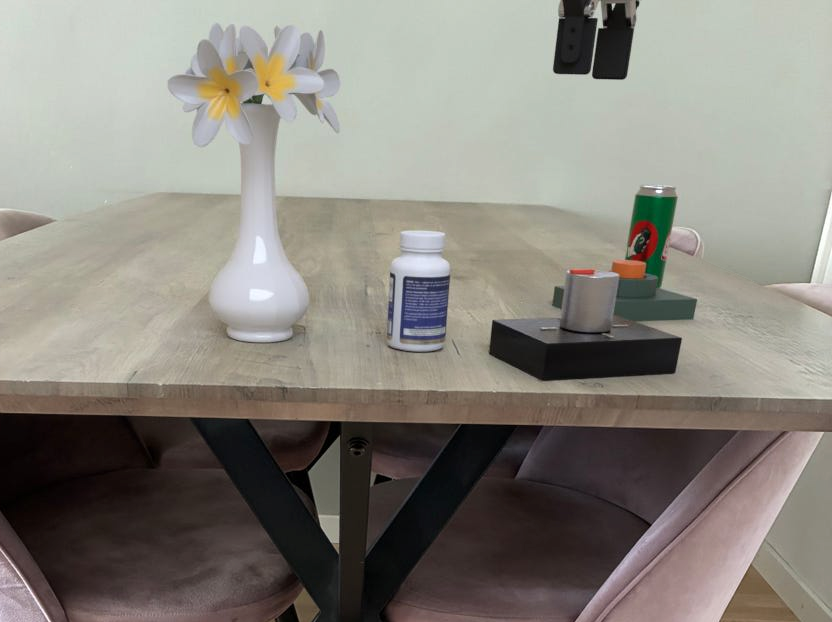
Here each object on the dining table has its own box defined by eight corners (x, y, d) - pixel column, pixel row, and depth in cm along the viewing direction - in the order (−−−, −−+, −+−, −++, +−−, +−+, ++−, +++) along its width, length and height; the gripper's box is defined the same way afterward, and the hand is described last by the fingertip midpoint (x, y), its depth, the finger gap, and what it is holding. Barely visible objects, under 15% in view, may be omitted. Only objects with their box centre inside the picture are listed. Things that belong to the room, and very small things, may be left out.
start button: (631, 276, 107) (634, 259, 106) (650, 281, 104) (653, 264, 103) (603, 276, 106) (606, 259, 105) (621, 281, 103) (624, 264, 102)
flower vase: (167, 355, 81) (146, 6, 69) (217, 315, 97) (207, 26, 85) (318, 364, 80) (324, 11, 68) (343, 322, 96) (351, 30, 84)
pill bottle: (456, 348, 88) (466, 234, 83) (417, 355, 85) (425, 237, 80) (413, 337, 91) (420, 227, 87) (374, 344, 88) (379, 230, 83)
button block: (640, 303, 113) (647, 267, 111) (693, 319, 105) (701, 281, 103) (551, 306, 109) (556, 269, 107) (599, 323, 101) (605, 283, 99)
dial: (593, 322, 85) (602, 265, 83) (620, 332, 82) (630, 272, 79) (550, 323, 84) (557, 265, 82) (576, 333, 80) (584, 273, 78)
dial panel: (611, 348, 90) (617, 313, 89) (675, 373, 82) (683, 335, 81) (488, 353, 86) (492, 317, 85) (542, 380, 78) (547, 341, 77)
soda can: (665, 293, 120) (684, 188, 114) (625, 292, 120) (643, 187, 114) (654, 286, 124) (672, 185, 118) (615, 285, 124) (631, 184, 118)
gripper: (637, -205, 68) (598, 72, 77) (699, -151, 81) (660, 82, 89) (539, -194, 72) (512, 71, 80) (614, -144, 84) (584, 80, 93)
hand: (590, 76), depth 85 cm, fingers open, 9 cm apart
